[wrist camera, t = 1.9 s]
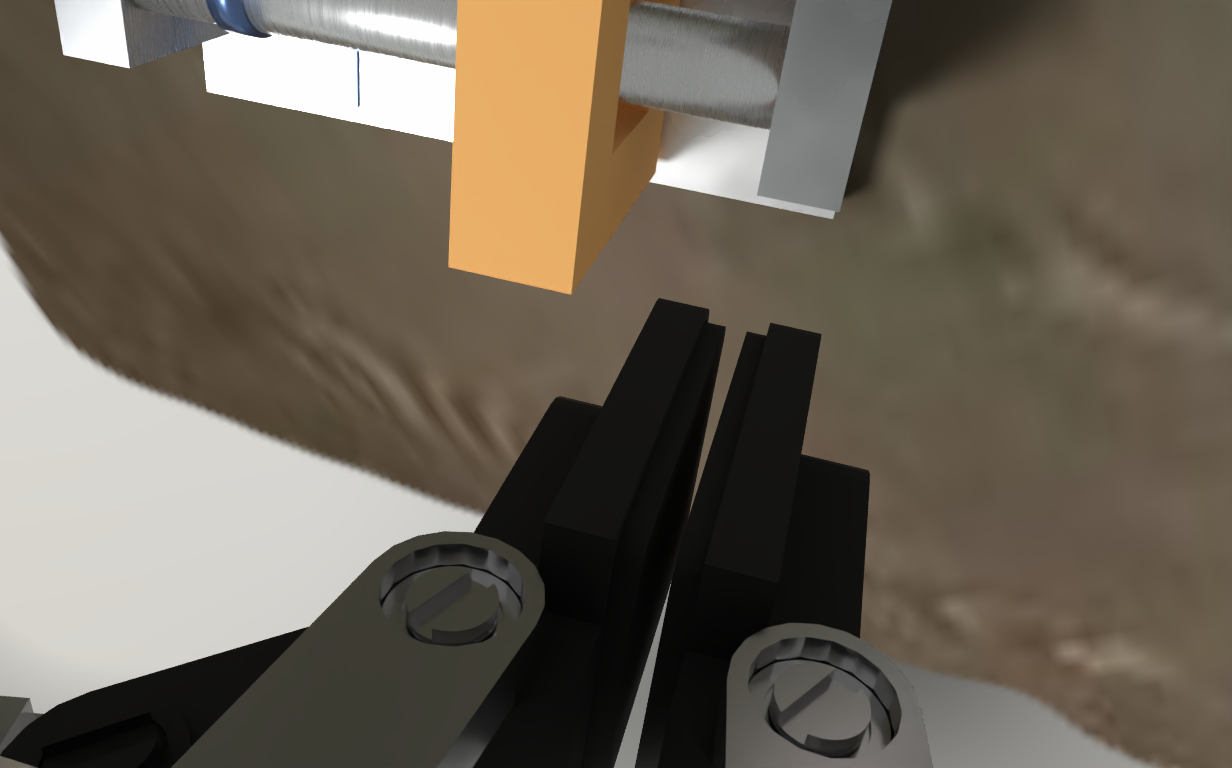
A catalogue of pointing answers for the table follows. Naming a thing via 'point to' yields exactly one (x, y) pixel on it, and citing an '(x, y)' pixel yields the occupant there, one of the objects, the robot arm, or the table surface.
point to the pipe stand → (651, 76)
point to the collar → (544, 138)
